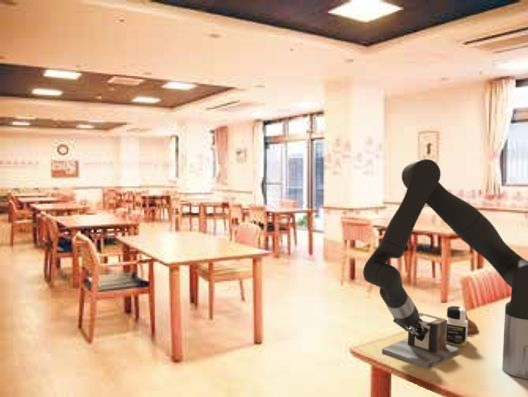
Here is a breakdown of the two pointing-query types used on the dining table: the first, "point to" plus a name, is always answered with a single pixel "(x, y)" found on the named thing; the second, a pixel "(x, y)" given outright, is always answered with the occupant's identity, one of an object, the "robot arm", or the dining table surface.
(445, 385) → the dining table surface
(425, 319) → the peg
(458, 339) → the medicine bottle
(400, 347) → the u-shaped block stand
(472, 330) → the bell
